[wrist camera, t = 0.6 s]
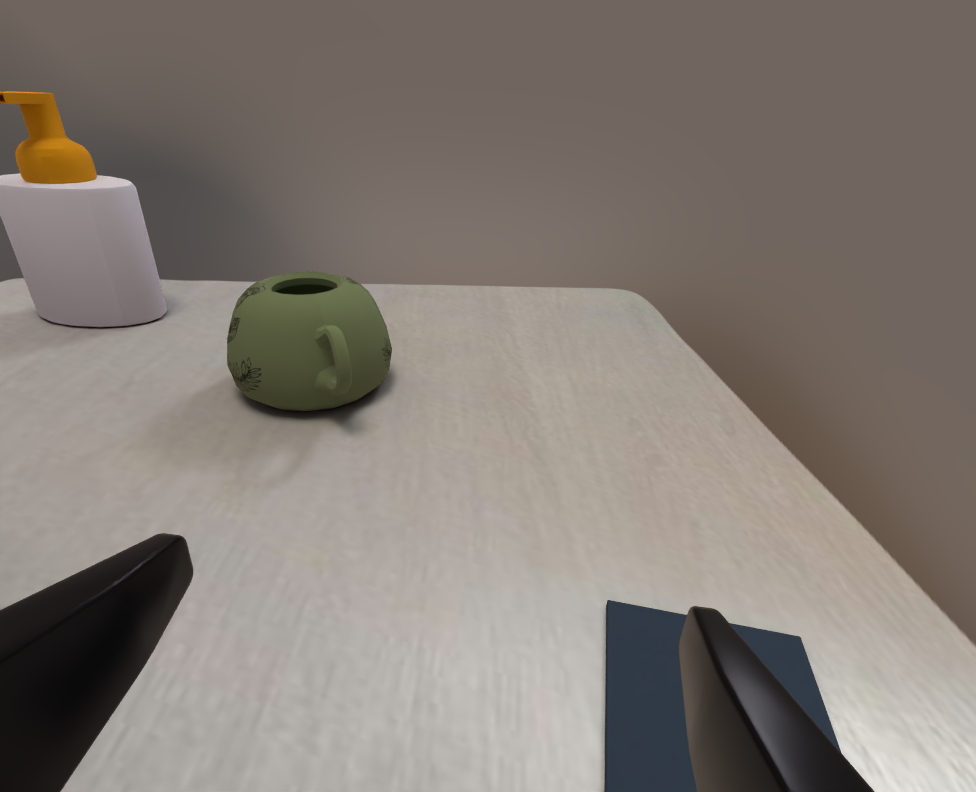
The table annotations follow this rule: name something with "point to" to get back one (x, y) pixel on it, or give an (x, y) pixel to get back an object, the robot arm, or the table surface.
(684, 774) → the mat
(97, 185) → the soap bottle
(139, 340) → the table surface
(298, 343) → the green rounded pot
